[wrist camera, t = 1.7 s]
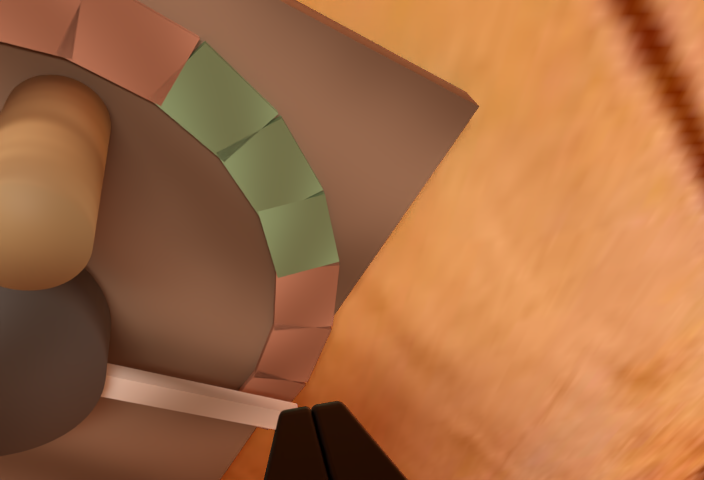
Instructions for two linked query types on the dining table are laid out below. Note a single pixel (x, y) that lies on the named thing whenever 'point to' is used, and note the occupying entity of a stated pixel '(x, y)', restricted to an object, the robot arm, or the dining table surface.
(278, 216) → the tuner board
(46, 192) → the peg dial
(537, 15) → the dining table surface
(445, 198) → the dining table surface
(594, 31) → the dining table surface
